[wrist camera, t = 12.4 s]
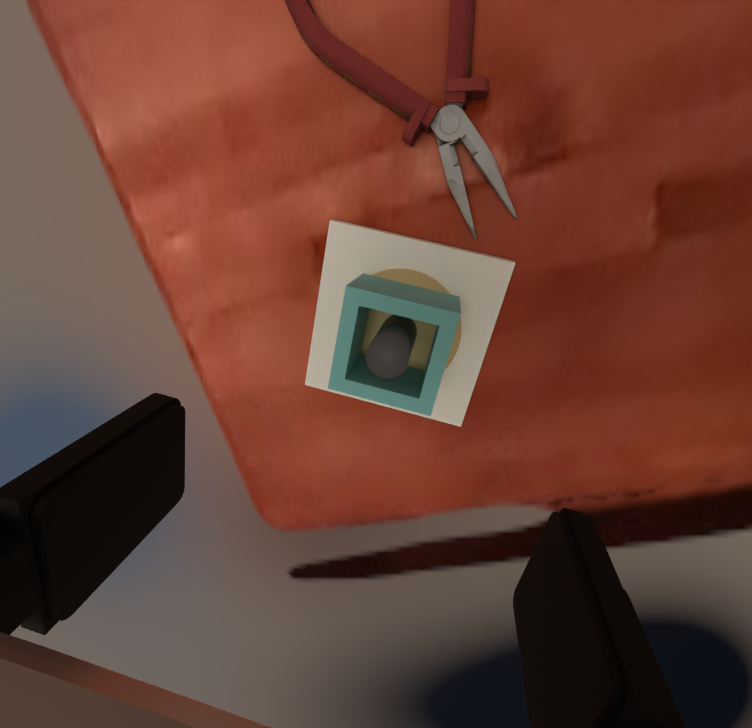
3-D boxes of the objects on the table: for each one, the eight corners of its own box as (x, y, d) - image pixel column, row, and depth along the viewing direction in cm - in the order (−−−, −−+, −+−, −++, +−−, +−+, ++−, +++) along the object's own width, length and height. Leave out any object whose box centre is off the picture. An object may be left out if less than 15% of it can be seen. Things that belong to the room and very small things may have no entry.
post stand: (512, 260, 28) (532, 277, 21) (460, 417, 33) (462, 474, 26) (335, 219, 30) (298, 222, 23) (310, 377, 35) (274, 421, 28)
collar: (459, 296, 28) (460, 313, 24) (434, 385, 31) (430, 416, 26) (362, 273, 29) (345, 285, 24) (345, 362, 32) (327, 388, 27)
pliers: (421, 267, 30) (418, 272, 28) (275, -20, 26) (257, -44, 23) (577, 183, 27) (589, 181, 24) (440, -167, 22) (439, -214, 20)
